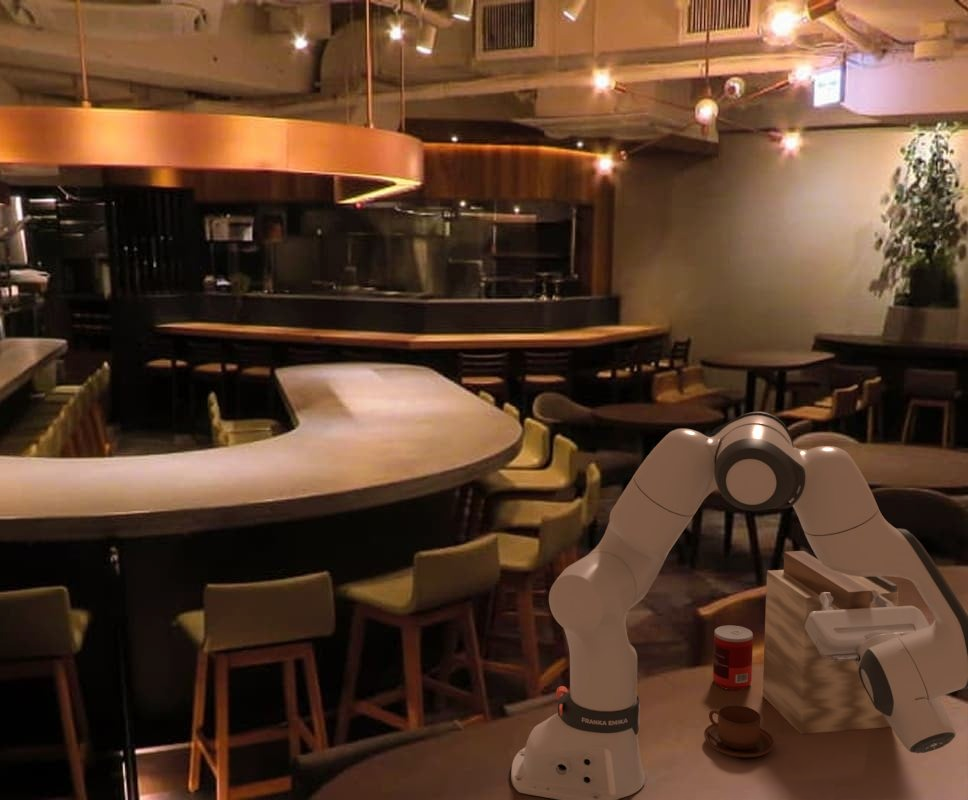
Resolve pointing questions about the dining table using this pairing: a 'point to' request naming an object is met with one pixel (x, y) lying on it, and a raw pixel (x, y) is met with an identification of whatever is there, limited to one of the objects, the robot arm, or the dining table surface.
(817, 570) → the walnut block
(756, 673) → the dining table surface
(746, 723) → the cup and saucer
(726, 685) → the canned food
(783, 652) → the zigzag patterned box
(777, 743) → the dining table surface
